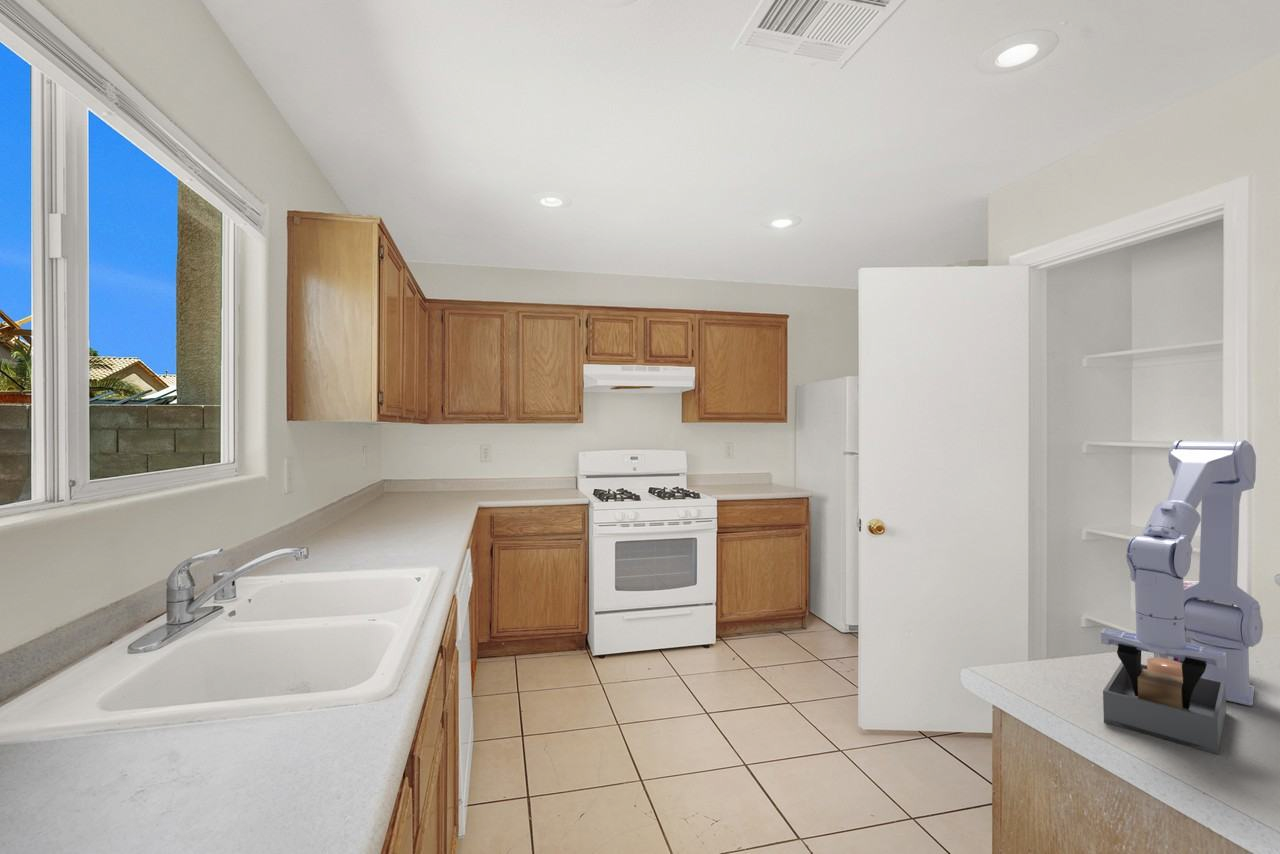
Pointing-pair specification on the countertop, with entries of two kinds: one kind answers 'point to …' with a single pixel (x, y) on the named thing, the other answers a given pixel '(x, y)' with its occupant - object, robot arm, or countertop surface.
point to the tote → (1169, 712)
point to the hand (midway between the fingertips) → (1161, 700)
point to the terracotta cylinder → (1165, 667)
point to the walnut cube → (1161, 688)
